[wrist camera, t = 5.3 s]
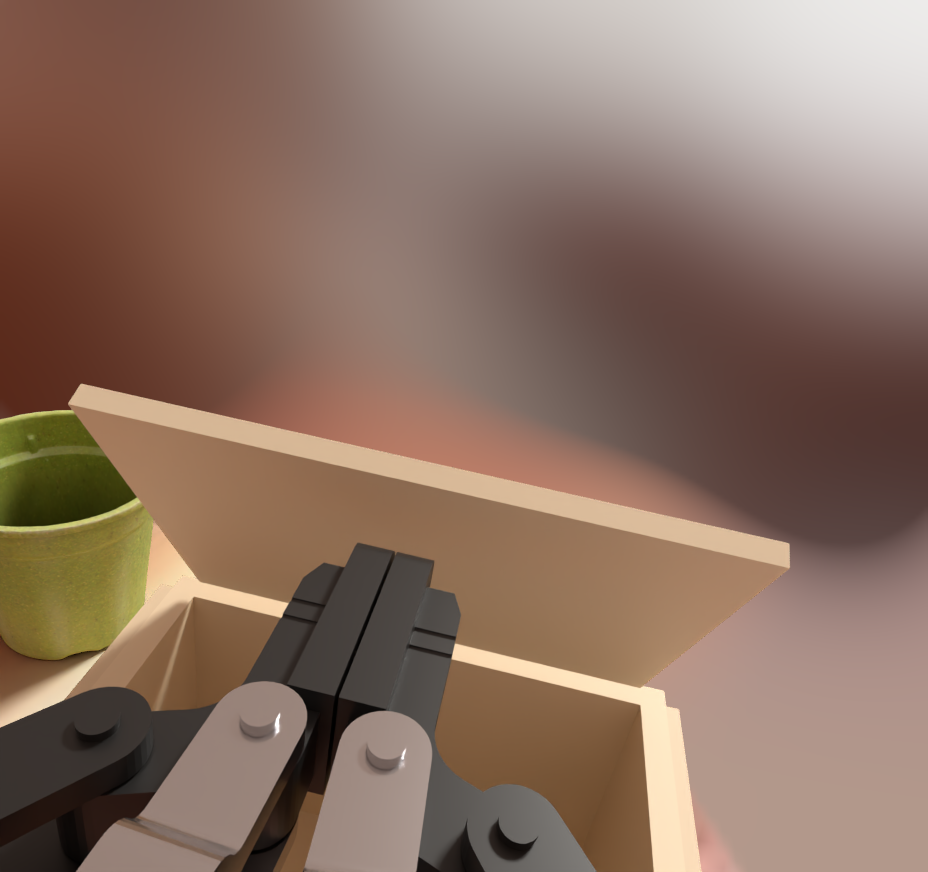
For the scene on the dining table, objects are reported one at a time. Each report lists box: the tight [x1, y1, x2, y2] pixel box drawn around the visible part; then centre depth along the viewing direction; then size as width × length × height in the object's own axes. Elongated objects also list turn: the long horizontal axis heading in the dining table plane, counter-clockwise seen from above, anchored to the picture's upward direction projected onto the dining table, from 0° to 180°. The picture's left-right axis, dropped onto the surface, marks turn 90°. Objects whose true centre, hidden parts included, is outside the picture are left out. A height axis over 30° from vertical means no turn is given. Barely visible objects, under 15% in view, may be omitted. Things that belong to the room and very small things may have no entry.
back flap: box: [68, 384, 790, 688], centre depth 18 cm, size 14×1×10 cm
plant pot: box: [0, 410, 153, 660], centre depth 32 cm, size 9×9×9 cm
